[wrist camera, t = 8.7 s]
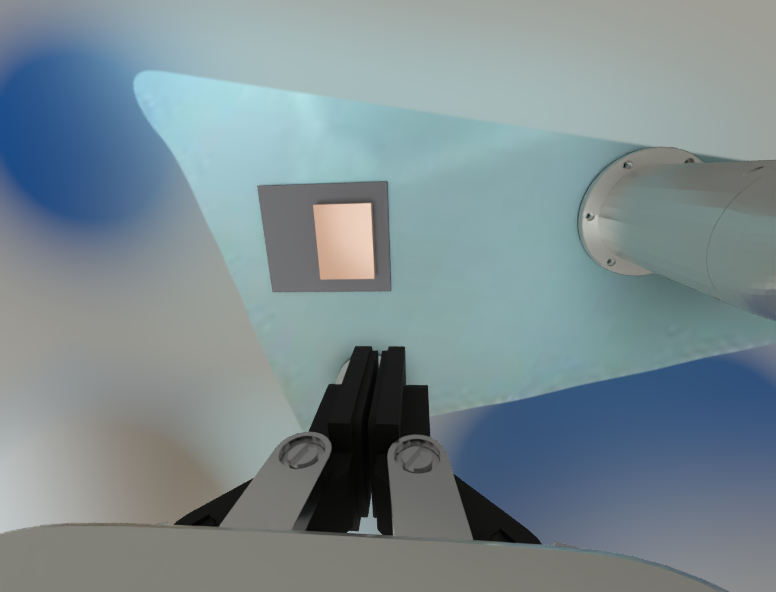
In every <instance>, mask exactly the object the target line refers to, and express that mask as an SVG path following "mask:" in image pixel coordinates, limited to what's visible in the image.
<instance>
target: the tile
mask: <svg viewBox="0 0 776 592" xmlns="http://www.w3.org/2000/svg"><path fill="white" fill-rule="evenodd" d="M313 210H314V220H315V230H316V240H317V250H318V261H319V271H320V280H326V279H375V276H376V263H375V241H374V219H373V202H357V203H323V204H314V205H313Z"/></svg>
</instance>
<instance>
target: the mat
mask: <svg viewBox="0 0 776 592" xmlns="http://www.w3.org/2000/svg"><path fill="white" fill-rule="evenodd" d="M257 187H258V194H259V201H260V208H261V215H262V222H263V229H264V236H265V243H266V250H267V257H268V264H269V271H270V278H271V284H272V291H273V292H355V291H391V278H390V248H389V217H388V187H387V182H360V183H331V184H302V185H272V186H257ZM357 202H373V219H374V241H375V263H376V276H375V279H326V280H320V271H319V261H318V250H317V240H316V230H315V220H314V210H313V205H314V204H323V203H357Z"/></svg>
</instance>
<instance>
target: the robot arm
mask: <svg viewBox="0 0 776 592" xmlns="http://www.w3.org/2000/svg"><path fill="white" fill-rule="evenodd" d="M684 162H685V163H684ZM624 163H625V167H624V168H623V164H624ZM587 214H589V216H588V218H586V215H587ZM578 231H579V236H580V240H581V243H582V245H583V247H584V249H585V251H586V252H587V253H588V255H589V256H590V257H591V259H593V260H594V261H595V262H596V263H597V264H599V265H600V266H602V267H604V268H606V269H607V270H610V271H612V272H615V273H617V274H622V275H628V276H643V275H649V274H654V273H657V274H659V275H661V276H664V277H666V278H668V279H671V280H673V281H676V282H678V283H680V284H683V285H685V286H687V287H690V288H692V289H695V290H697V291H699V292H702V293H704V294H706V295H709V296H711V297H714V298H716V299H718V300H721V301H723V302H726V303H728V304H730V305H733V306H735V307H738V308H741V309H743V310H745V311H748V312H750V313H753V314H755V315H758V316H761V317H764V318H767V319H771V320H775V321H776V160H760V161H733V162H706V163H704V162H702V161H701V160H700V159H699V158H698V157H697V156H695V155H693V154H691V153H689V152H688V151H685V150H681V149H678V148H673V147H654V148H647V149H642V150H638V151H635V152H632V153H630V154H627V155H625V156H623V157H621V158H619V159H618V160H616V161H615V162H613V163H611V164H610V165H609V166H608V167H607V168H606V169H604V170H603V171H602V172H601V173H600V174H599V175H598V176H597V178H596V179H595V180H594V181H593V182H592V184H591V185H590V187H589V189H588V190H587V192H586V194H585V196H584V198H583V201H582V204H581V206H580V211H579V217H578ZM608 260H609V262H607V261H608ZM371 493H372V505H373V517H374V518H377V528H378V530H379V531H380V533H381V534H382V535H373V534H354V533H347V532H348V531H359V526H360V520H361V517H368V513H369V507H370V500H371ZM0 592H729V591H727V590H725V589H723V588H721V587H719V586H717V585H715V584H713V583H711V582H708V581H706V580H704V579H701V578H698V577H696V576H693V575H690V574H688V573H685V572H683V571H680V570H678V569H675V568H672V567H670V566H667V565H663V564H660V563H656V562H652V561H648V560H644V559H641V558H638V557H634V556H629V555H624V554H618V553H612V552H607V551H602V550H592V549H582V548H577V547H574V546H570V545H566V544H562V543H558V542H555V543H554V546H551V545H542V544H541V543H540V541H539V540H538V538H537V537H536V536H534V535H533V534H532V533H531V532H530V531H529V530H528V529H527V528H525V527H524V526H523V525H521V524H520V523H519V522H517V521H516V520H515V519H513V518H512V517H510V516H509V515H508V514H507V513H505V512H504V511H503V510H501V509H500V508H498V507H497V506H496V505H494V504H493V503H492V502H490V501H489V500H488V499H486V498H485V497H484V496H482V495H481V494H480V493H478V492H477V491H476V490H474V489H473V488H471V487H470V486H469V485H468V484H466V483H465V482H464V481H462V480H461V479H460V478H458V477H457V476H456V475H454V474H453V472H452V469H451V465H450V462H449V459H448V456H447V452H446V451H445V449H444V447H443V446H442V445H441V444H440V443H439V442H438V441H437V440H435V439H433V438H431V437H430V422H429V400H428V385H406V369H405V347H389V348H388V351H382V355H381V360H380V365H379V359H378V351H372V346H355V348H354V351H353V354H352V356H351V359H350V362H349V365H348V367H347V370H346V373H345V375H344V378H343V381H342V384H329V385H328V387H327V389H326V392H325V394H324V396H323V399H322V401H321V404H320V406H319V408H318V411H317V413H316V415H315V418H314V420H313V422H312V425H311V427H310V429H309V432H303V433H297V434H295V435H292V436H290V437H288V438H286V439H285V440H283V441H282V442H281V443H280V444H279V445H278V446H277V447H276V448H275V450H274V451H273V453H272V454H271V456H270V457H269V458H268V459H267V461H266V462H265V464H264V465H263V466H262V468H261V469H260V471H259V472H258V473H257V475H256V476H255V477H254V478H253V479H251V480H249V481H247V482H246V483H244V484H242V485H240V486H238V487H236V488H234V489H233V490H231V491H229V492H227V493H225V494H223V495H222V496H220V497H218V498H216V499H214V500H212V501H211V502H209V503H207V504H205V505H203V506H202V507H200V508H198V509H196V510H194V511H192V512H191V513H189V514H187V515H186V516H184V517H183V518H181V519H180V520H178V521H177V522H176V523H175V524H174V525H168V522H165V523H158V524H137V523H63V524H50V525H40V526H34V527H29V528H23V529H17V530H12V531H8V532H4V533H1V534H0Z"/></svg>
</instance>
